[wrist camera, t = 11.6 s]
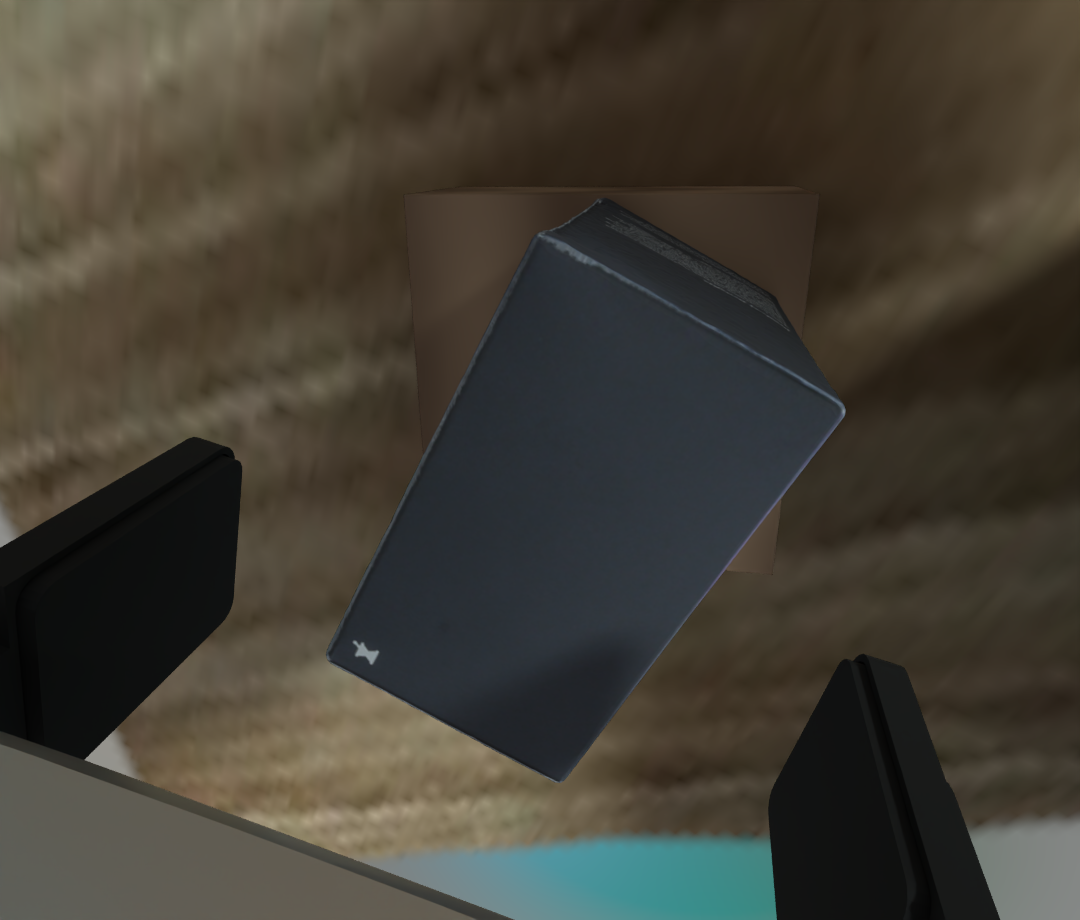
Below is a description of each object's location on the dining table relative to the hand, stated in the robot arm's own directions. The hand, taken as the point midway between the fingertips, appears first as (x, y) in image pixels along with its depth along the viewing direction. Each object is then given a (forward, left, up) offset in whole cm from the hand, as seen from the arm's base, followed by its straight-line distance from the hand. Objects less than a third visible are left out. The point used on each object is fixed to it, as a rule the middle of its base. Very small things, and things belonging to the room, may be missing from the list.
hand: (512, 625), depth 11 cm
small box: (0, +1, -14) cm, 14 cm away
